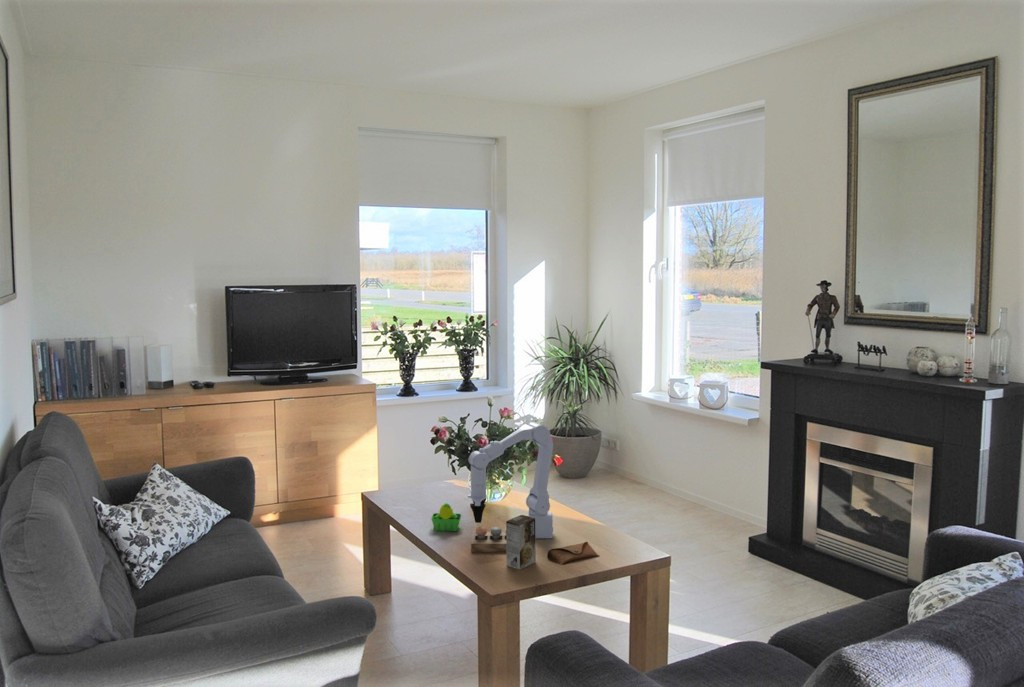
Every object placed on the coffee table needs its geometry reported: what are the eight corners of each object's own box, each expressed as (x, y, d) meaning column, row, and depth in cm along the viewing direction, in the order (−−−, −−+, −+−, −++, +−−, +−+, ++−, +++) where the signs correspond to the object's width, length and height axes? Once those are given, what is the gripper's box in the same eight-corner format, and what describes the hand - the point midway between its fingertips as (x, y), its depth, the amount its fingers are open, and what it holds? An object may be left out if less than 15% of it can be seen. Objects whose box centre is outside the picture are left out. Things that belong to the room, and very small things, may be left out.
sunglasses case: (560, 565, 281) (555, 546, 284) (550, 570, 287) (545, 551, 289) (601, 555, 291) (595, 537, 293) (591, 560, 296) (585, 542, 299)
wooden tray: (519, 539, 308) (519, 531, 308) (520, 551, 295) (520, 543, 295) (472, 539, 308) (472, 531, 308) (471, 551, 295) (471, 543, 295)
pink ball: (486, 536, 304) (486, 526, 303) (486, 540, 300) (486, 530, 299) (476, 536, 304) (476, 527, 303) (475, 540, 300) (475, 530, 299)
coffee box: (521, 558, 289) (521, 514, 287) (536, 562, 285) (536, 517, 283) (505, 565, 282) (505, 520, 280) (520, 570, 278) (519, 524, 276)
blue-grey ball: (501, 536, 304) (501, 526, 303) (501, 540, 300) (501, 530, 299) (490, 536, 304) (490, 526, 303) (490, 540, 300) (490, 530, 299)
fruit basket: (461, 525, 325) (461, 498, 324) (459, 533, 316) (459, 504, 315) (433, 525, 325) (433, 498, 324) (430, 532, 317) (430, 504, 315)
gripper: (468, 478, 309) (469, 513, 310) (466, 489, 294) (466, 525, 296) (487, 478, 309) (487, 513, 310) (485, 489, 294) (486, 525, 295)
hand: (478, 519), depth 303 cm, fingers open, 7 cm apart
